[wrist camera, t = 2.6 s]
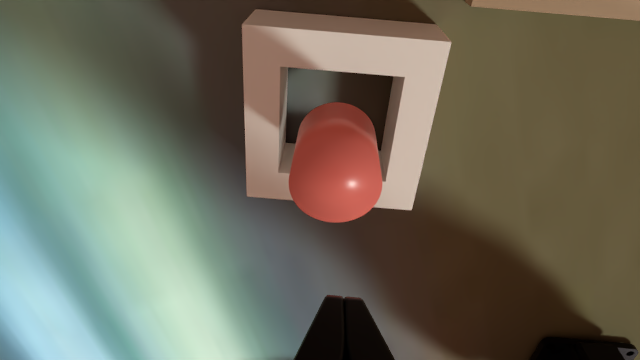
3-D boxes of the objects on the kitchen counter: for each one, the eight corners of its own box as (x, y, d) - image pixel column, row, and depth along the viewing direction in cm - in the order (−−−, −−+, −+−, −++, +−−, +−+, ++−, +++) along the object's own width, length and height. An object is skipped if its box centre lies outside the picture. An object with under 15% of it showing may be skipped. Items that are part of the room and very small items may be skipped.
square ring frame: (404, 177, 23) (411, 210, 20) (257, 164, 23) (246, 196, 20) (436, 24, 18) (451, 41, 16) (255, 9, 18) (241, 24, 16)
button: (368, 163, 19) (375, 226, 15) (298, 157, 19) (287, 218, 15) (379, 96, 17) (389, 148, 13) (301, 89, 17) (289, 139, 13)
